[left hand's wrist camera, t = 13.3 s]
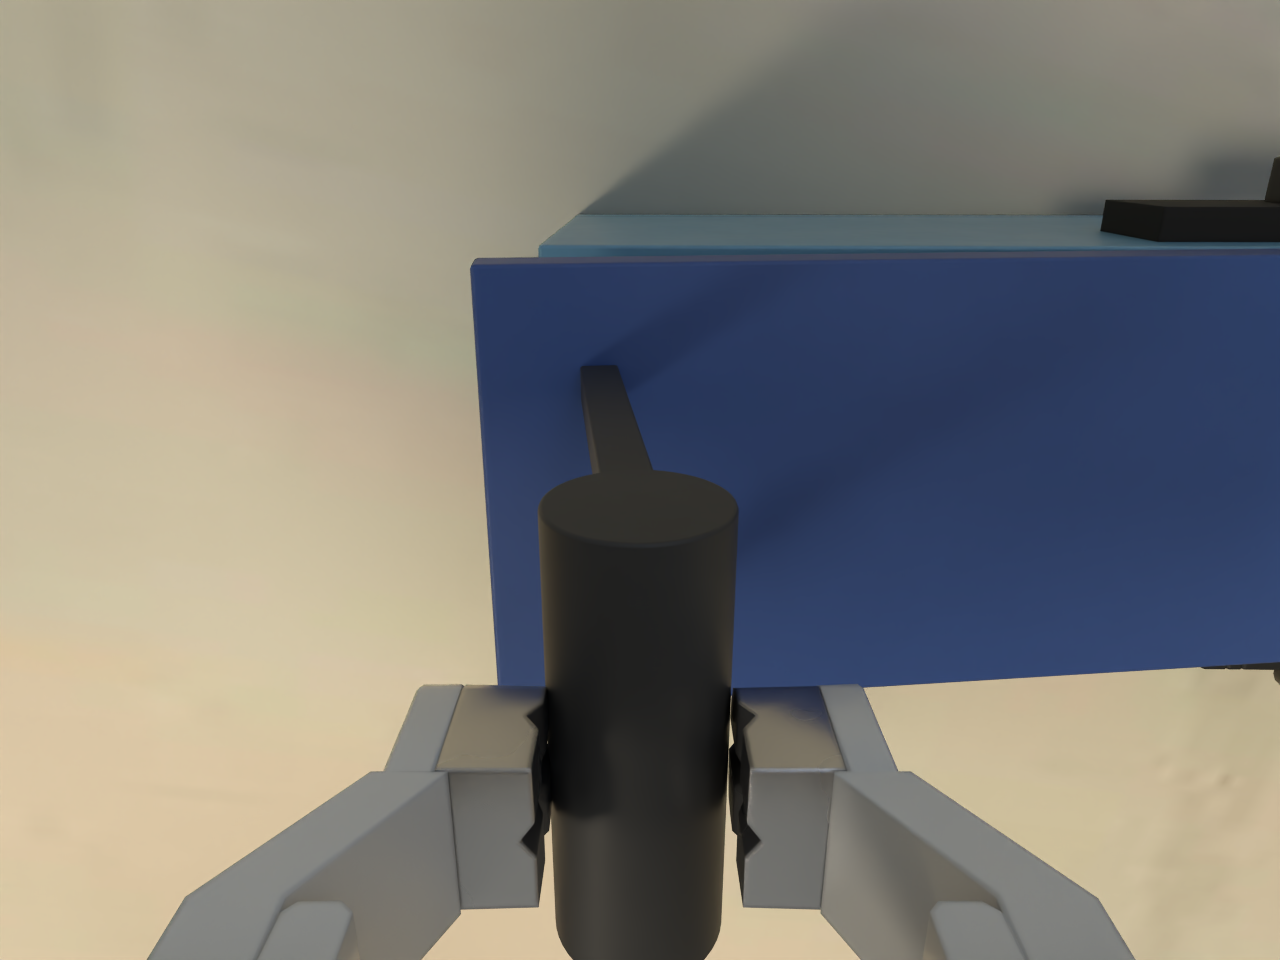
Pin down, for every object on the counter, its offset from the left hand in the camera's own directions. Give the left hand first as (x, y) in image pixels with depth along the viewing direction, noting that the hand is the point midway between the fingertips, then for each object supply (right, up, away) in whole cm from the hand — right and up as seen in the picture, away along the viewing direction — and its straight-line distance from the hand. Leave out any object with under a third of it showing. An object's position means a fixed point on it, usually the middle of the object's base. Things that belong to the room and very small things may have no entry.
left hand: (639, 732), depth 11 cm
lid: (+6, +3, +8) cm, 11 cm away
